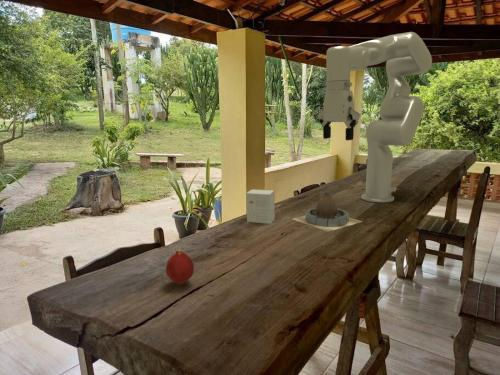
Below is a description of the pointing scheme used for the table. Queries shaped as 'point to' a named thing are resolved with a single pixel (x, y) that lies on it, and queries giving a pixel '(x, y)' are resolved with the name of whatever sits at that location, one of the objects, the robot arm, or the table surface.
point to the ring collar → (327, 222)
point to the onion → (180, 268)
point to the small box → (260, 206)
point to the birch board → (350, 222)
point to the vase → (326, 206)
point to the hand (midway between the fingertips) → (337, 139)
